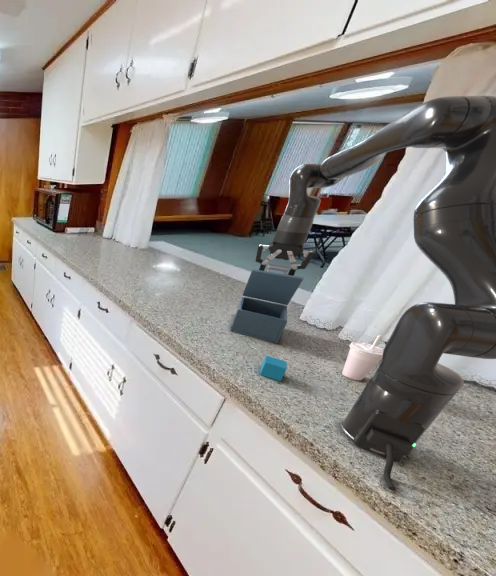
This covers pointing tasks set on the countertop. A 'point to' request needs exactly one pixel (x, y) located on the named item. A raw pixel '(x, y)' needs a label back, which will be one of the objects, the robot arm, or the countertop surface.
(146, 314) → the countertop surface
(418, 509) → the countertop surface
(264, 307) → the compartment
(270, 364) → the block
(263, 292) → the lid
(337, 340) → the countertop surface
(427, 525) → the countertop surface
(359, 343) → the smoothie
